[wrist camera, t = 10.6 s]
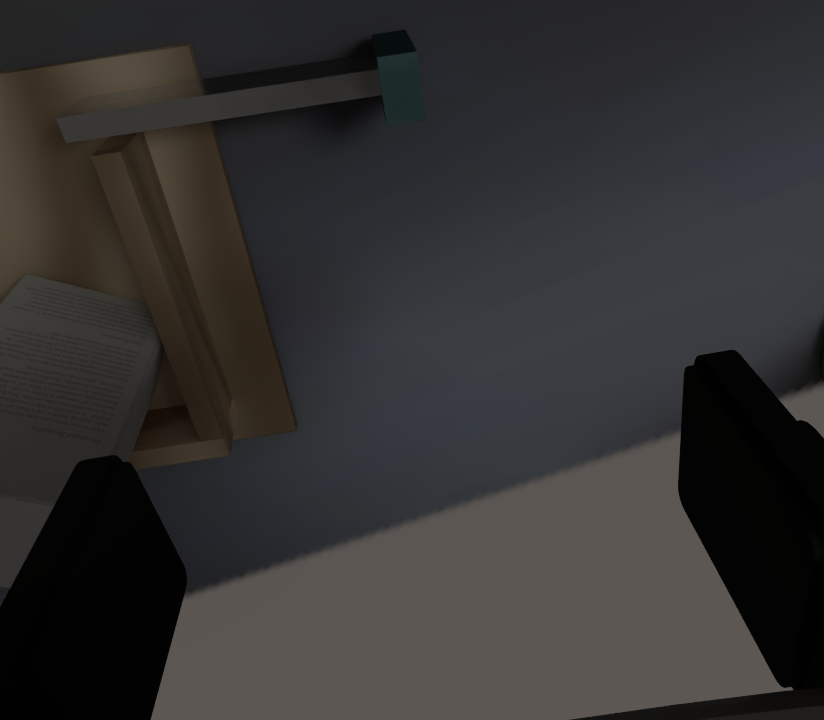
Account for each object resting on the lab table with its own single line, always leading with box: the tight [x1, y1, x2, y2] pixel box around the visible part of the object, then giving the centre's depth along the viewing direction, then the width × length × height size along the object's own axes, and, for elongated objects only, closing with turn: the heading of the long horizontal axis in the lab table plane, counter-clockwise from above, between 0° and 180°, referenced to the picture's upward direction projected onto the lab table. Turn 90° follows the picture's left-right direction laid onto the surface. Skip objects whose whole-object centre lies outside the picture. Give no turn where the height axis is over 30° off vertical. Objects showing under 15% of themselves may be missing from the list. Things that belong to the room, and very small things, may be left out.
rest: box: [0, 43, 297, 470], centre depth 28 cm, size 14×18×4 cm
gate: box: [56, 30, 425, 143], centre depth 23 cm, size 12×2×4 cm, turn 97°
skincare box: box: [0, 274, 165, 588], centre depth 25 cm, size 6×4×12 cm
